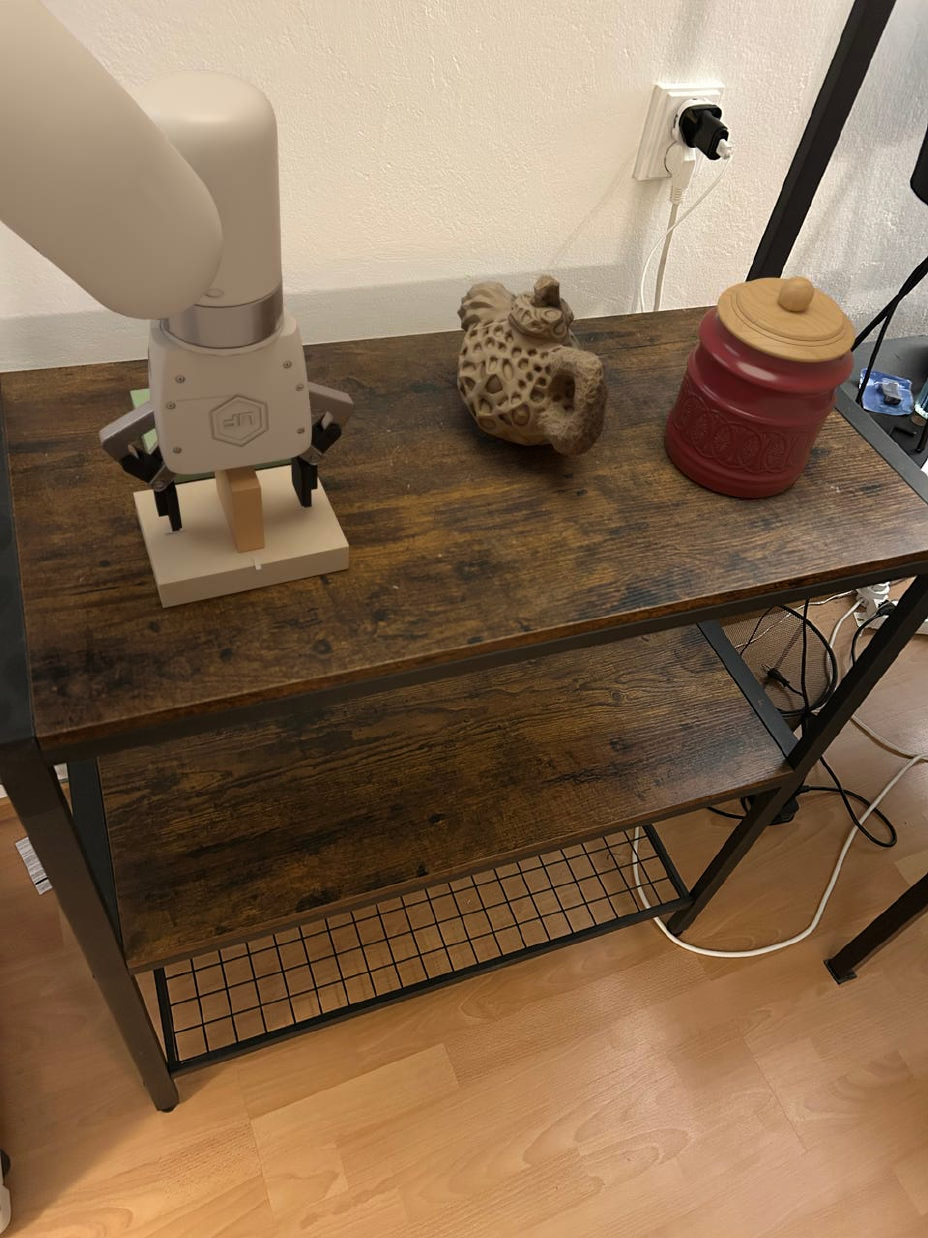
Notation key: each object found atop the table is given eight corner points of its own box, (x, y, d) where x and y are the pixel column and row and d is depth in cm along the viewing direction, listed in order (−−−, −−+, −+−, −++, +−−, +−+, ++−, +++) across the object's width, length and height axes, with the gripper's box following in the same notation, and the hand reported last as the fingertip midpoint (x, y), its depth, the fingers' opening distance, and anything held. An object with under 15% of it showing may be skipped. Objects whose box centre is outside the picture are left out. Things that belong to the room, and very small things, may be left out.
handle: (264, 547, 72) (260, 483, 67) (238, 552, 71) (232, 488, 66) (242, 485, 76) (237, 421, 71) (216, 490, 75) (209, 425, 70)
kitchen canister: (635, 424, 90) (689, 247, 77) (745, 399, 95) (814, 228, 82) (713, 515, 83) (788, 337, 70) (829, 484, 88) (919, 312, 75)
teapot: (411, 376, 92) (424, 224, 80) (517, 354, 96) (543, 206, 85) (521, 524, 80) (554, 370, 69) (635, 491, 84) (684, 342, 73)
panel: (164, 614, 70) (160, 589, 68) (136, 510, 76) (131, 485, 74) (351, 574, 74) (352, 549, 72) (309, 479, 81) (309, 455, 79)
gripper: (81, 353, 54) (127, 564, 67) (374, 318, 60) (365, 519, 73) (64, 283, 59) (110, 494, 72) (338, 256, 64) (336, 456, 77)
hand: (239, 506), depth 72 cm, fingers open, 9 cm apart
